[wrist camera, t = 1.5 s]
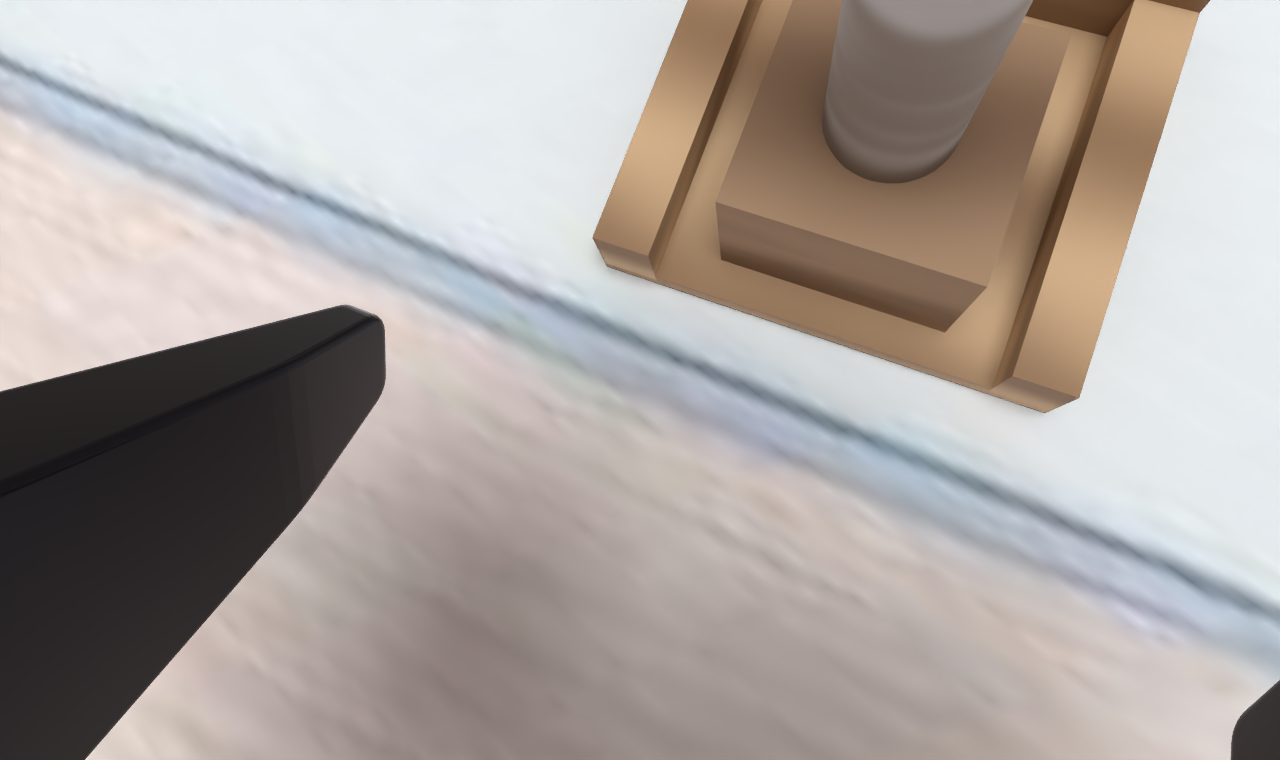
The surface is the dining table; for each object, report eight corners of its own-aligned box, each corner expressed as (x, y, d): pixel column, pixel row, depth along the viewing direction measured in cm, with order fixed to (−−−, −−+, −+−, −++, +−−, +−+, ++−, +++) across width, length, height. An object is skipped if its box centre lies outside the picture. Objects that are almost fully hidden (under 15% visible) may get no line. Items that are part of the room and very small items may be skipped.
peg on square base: (944, 332, 22) (1340, -92, 7) (721, 260, 23) (673, -238, 8) (1016, 122, 23) (1501, -644, 8) (796, 61, 24) (871, -712, 9)
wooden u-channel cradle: (1045, 412, 22) (1101, 388, 18) (607, 266, 24) (582, 219, 20) (1171, 15, 23) (1246, -79, 20) (748, -89, 25) (748, -191, 22)
